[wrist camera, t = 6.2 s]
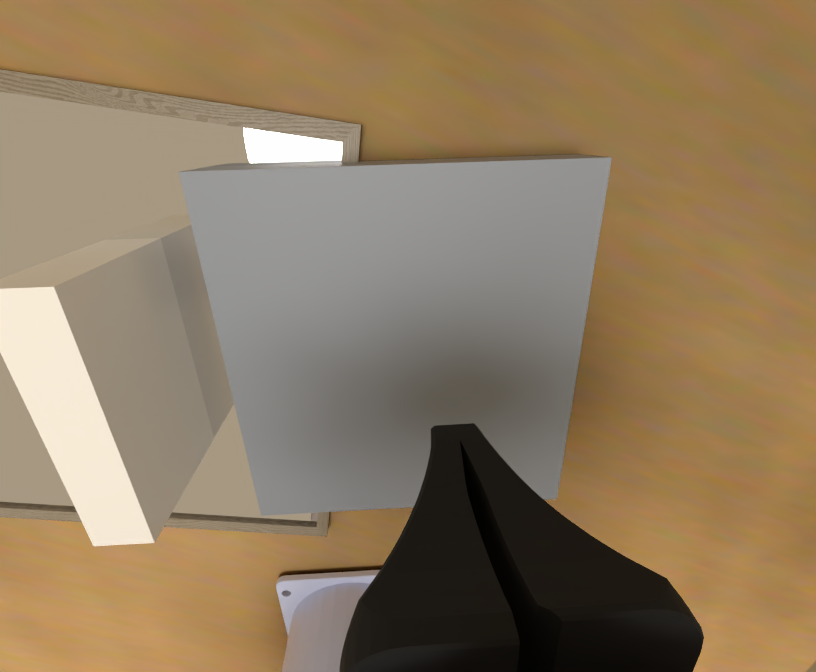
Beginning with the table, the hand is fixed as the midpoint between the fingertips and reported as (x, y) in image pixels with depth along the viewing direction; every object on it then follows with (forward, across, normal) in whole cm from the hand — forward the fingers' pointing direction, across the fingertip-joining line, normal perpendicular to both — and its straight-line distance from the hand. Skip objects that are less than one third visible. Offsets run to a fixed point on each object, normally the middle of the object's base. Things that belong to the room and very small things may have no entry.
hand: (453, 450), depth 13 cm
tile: (+3, +10, -1) cm, 11 cm away
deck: (+6, +1, -1) cm, 6 cm away
